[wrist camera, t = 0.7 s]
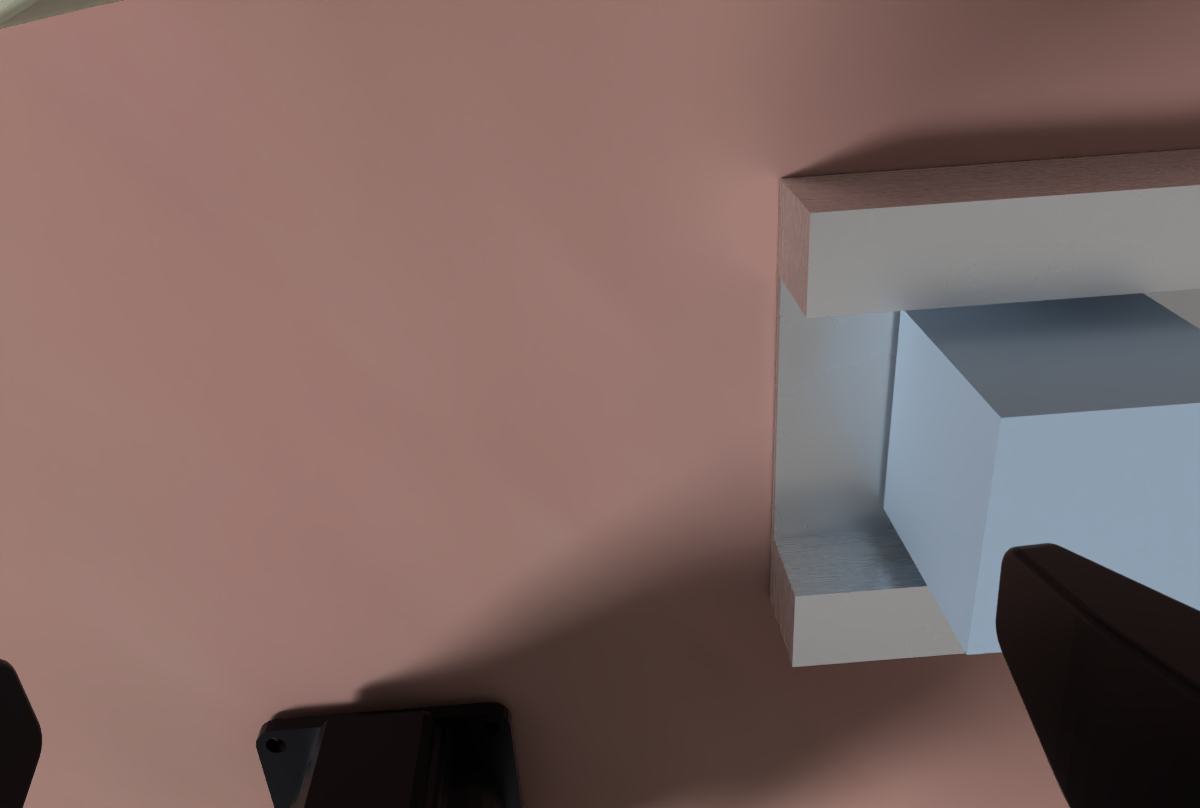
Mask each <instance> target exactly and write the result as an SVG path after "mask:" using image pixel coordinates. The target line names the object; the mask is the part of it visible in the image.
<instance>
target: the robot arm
mask: <svg viewBox="0 0 1200 808" xmlns="http://www.w3.org/2000/svg"><path fill="white" fill-rule="evenodd" d="M995 624H996V633H997V638H998V642H999V645H1000V648H1001V651H1002V653H1003V655H1004V658H1005V660H1006V663H1007V665H1008V667H1009V670H1010V672H1011V674H1012V677H1013V679H1014V681H1015V684H1016V686H1017V688H1018V691H1019V693H1020V696H1021V698H1022V700H1023V703H1024V705H1025V707H1026V710H1027V712H1028V714H1029V717H1030V719H1031V721H1032V724H1033V726H1034V729H1035V731H1036V733H1037V736H1038V738H1039V740H1040V743H1041V745H1042V747H1043V750H1044V752H1045V754H1046V757H1047V759H1048V762H1049V764H1050V766H1051V769H1052V771H1053V773H1054V775H1055V778H1056V780H1057V782H1058V784H1059V786H1060V788H1061V791H1062V793H1063V795H1064V797H1065V799H1066V801H1067V803H1068V805H1069V807H1070V808H1200V611H1199V610H1197V609H1195V608H1193V607H1190V606H1188V605H1186V604H1184V603H1182V602H1180V601H1178V600H1175V599H1173V598H1171V597H1169V596H1167V595H1165V594H1162V593H1160V592H1158V591H1156V590H1154V589H1152V588H1150V587H1147V586H1145V585H1143V584H1141V583H1139V582H1137V581H1134V580H1132V579H1130V578H1128V577H1126V576H1124V575H1122V574H1119V573H1117V572H1115V571H1113V570H1111V569H1109V568H1106V567H1104V566H1102V565H1100V564H1098V563H1096V562H1094V561H1091V560H1089V559H1087V558H1085V557H1083V556H1081V555H1078V554H1076V553H1074V552H1072V551H1070V550H1068V549H1066V548H1063V547H1061V546H1059V545H1056V544H1053V543H1042V544H1033V545H1024V546H1015V547H1011V548H1010V549H1009V550H1007V551H1006V552H1005V554H1004V556H1003V559H1002V563H1001V572H1000V581H999V591H998V600H997V610H996V622H995ZM487 721H496V722H497V723H495V724H488V723H486V722H487ZM273 738H277V739H281V740H283V741H276V740H275V739H273ZM41 747H42V733H41V728H40V725H39V722H38V720H37V717H36V715H35V713H34V711H33V709H32V706H31V704H30V702H29V700H28V697H27V695H26V693H25V691H24V689H23V686H22V684H21V682H20V680H19V677H18V675H17V673H16V671H15V669H14V668H13V666H12V665H11V664H10V663H9V662H7V661H5V660H2V659H0V808H23V805H24V802H25V799H26V796H27V793H28V790H29V787H30V784H31V781H32V778H33V775H34V772H35V769H36V766H37V763H38V760H39V757H40V753H41ZM256 748H257V751H258V754H259V758H260V761H261V764H262V768H263V771H264V774H265V778H266V781H267V784H268V788H269V791H270V794H271V798H272V801H273V804H274V808H524V807H523V800H522V793H521V785H520V778H519V770H518V763H517V756H516V748H515V741H514V734H513V726H512V719H511V714H510V711H509V709H507V708H506V707H505V706H504V705H502V704H499V703H494V702H486V703H473V704H461V705H449V706H436V707H424V708H411V709H399V710H387V711H374V712H362V713H349V714H337V715H325V716H312V717H300V718H287V719H275V720H271V721H268V722H267V723H265V724H264V725H263V726H262V728H261V729H260V732H259V735H258V738H257V741H256Z"/></svg>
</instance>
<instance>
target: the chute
mask: <svg viewBox="0 0 1200 808" xmlns="http://www.w3.org/2000/svg"><path fill="white" fill-rule="evenodd" d="M1136 293H1144V294H1145V295H1147V296H1148V297H1150V298H1152V299H1153V300H1155V301H1156V302H1158V303H1159V304H1161V305H1163V306H1164V307H1166V308H1167V309H1169V310H1170V311H1172V312H1174V313H1175V314H1177V315H1178V316H1180V317H1181V318H1183V319H1185V320H1186V321H1188V322H1189V323H1191V324H1192V325H1194V326H1196V327H1197V328H1199V329H1200V149H1187V150H1173V151H1159V152H1145V153H1131V154H1117V155H1103V156H1089V157H1075V158H1061V159H1047V160H1033V161H1020V162H1006V163H992V164H978V165H964V166H950V167H936V168H922V169H908V170H894V171H880V172H866V173H852V174H838V175H824V176H810V177H796V178H782V179H780V205H779V244H778V284H777V324H776V363H775V403H774V443H773V482H772V522H771V561H770V601H771V604H772V607H773V610H774V613H775V616H776V619H777V622H778V625H779V628H780V631H781V634H782V637H783V640H784V643H785V646H786V649H787V653H788V656H789V659H790V662H791V665H792V667H801V666H814V665H826V664H838V663H851V662H863V661H876V660H888V659H901V658H913V657H925V656H938V655H950V654H963V653H965V651H964V649H963V648H962V646H961V644H960V642H959V641H958V639H957V637H956V635H955V634H954V632H953V630H952V628H951V626H950V625H949V623H948V621H947V619H946V618H945V616H944V614H943V612H942V611H941V609H940V607H939V605H938V604H937V602H936V600H935V598H934V597H933V595H932V593H931V591H930V589H929V588H928V586H927V584H926V582H925V581H924V579H923V577H922V575H921V574H920V572H919V570H918V568H917V567H916V565H915V563H914V561H913V560H912V558H911V556H910V554H909V552H908V551H907V549H906V547H905V545H904V544H903V542H902V540H901V538H900V537H899V535H898V533H897V531H896V530H895V528H894V526H893V524H892V522H891V521H890V519H889V517H888V515H887V514H886V512H885V510H884V508H883V507H884V496H885V484H886V473H887V461H888V450H889V438H890V427H891V415H892V404H893V392H894V381H895V369H896V358H897V347H898V335H899V324H900V312H901V311H907V310H921V309H934V308H948V307H961V306H975V305H988V304H1002V303H1015V302H1029V301H1042V300H1056V299H1069V298H1083V297H1096V296H1109V295H1123V294H1136Z"/></svg>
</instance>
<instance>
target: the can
mask: <svg viewBox="0 0 1200 808" xmlns="http://www.w3.org/2000/svg"><path fill="white" fill-rule="evenodd" d="M118 1H123V0H0V29H2V28H6V27H10V26H15V25H19V24H23V23H27V22H31V21H36V20H40V19H44V18H48V17H52V16H56V15H61V14H65V13H69V12H73V11H77V10H81V9H86V8H90V7H94V6H99V5H104V4H108V3H113V2H118Z"/></svg>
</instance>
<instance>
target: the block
mask: <svg viewBox="0 0 1200 808" xmlns="http://www.w3.org/2000/svg"><path fill="white" fill-rule="evenodd" d="M883 508H884V510H885V512H886V514H887V515H888V517H889V519H890V521H891V522H892V524H893V526H894V528H895V530H896V531H897V533H898V535H899V537H900V538H901V540H902V542H903V544H904V545H905V547H906V549H907V551H908V552H909V554H910V556H911V558H912V560H913V561H914V563H915V565H916V567H917V568H918V570H919V572H920V574H921V575H922V577H923V579H924V581H925V582H926V584H927V586H928V588H929V589H930V591H931V593H932V595H933V597H934V598H935V600H936V602H937V604H938V605H939V607H940V609H941V611H942V612H943V614H944V616H945V618H946V619H947V621H948V623H949V625H950V626H951V628H952V630H953V632H954V634H955V635H956V637H957V639H958V641H959V642H960V644H961V646H962V648H963V649H964V651H965V653H966V655H972V654H984V653H997V652H1002V651H1001V648H1000V645H999V642H998V638H997V633H996V624H995V622H996V610H997V600H998V591H999V581H1000V572H1001V563H1002V559H1003V556H1004V554H1005V552H1006V551H1007V550H1009V549H1010V548H1011V547H1015V546H1024V545H1033V544H1042V543H1053V544H1056V545H1059V546H1061V547H1063V548H1066V549H1068V550H1070V551H1072V552H1074V553H1076V554H1078V555H1081V556H1083V557H1085V558H1087V559H1089V560H1091V561H1094V562H1096V563H1098V564H1100V565H1102V566H1104V567H1106V568H1109V569H1111V570H1113V571H1115V572H1117V573H1119V574H1122V575H1124V576H1126V577H1128V578H1130V579H1132V580H1134V581H1137V582H1139V583H1141V584H1143V585H1145V586H1147V587H1150V588H1152V589H1154V590H1156V591H1158V592H1160V593H1162V594H1165V595H1167V596H1169V597H1171V598H1173V599H1175V600H1178V601H1180V602H1182V603H1184V604H1186V605H1188V606H1190V607H1193V608H1195V609H1197V610H1199V611H1200V329H1199V328H1197V327H1196V326H1194V325H1192V324H1191V323H1189V322H1188V321H1186V320H1185V319H1183V318H1181V317H1180V316H1178V315H1177V314H1175V313H1174V312H1172V311H1170V310H1169V309H1167V308H1166V307H1164V306H1163V305H1161V304H1159V303H1158V302H1156V301H1155V300H1153V299H1152V298H1150V297H1148V296H1147V295H1145V294H1144V293H1136V294H1123V295H1109V296H1096V297H1083V298H1069V299H1056V300H1042V301H1029V302H1015V303H1002V304H988V305H975V306H961V307H948V308H934V309H921V310H907V311H901V312H900V324H899V335H898V347H897V358H896V369H895V381H894V392H893V404H892V415H891V427H890V438H889V450H888V461H887V473H886V484H885V496H884V507H883Z"/></svg>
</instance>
